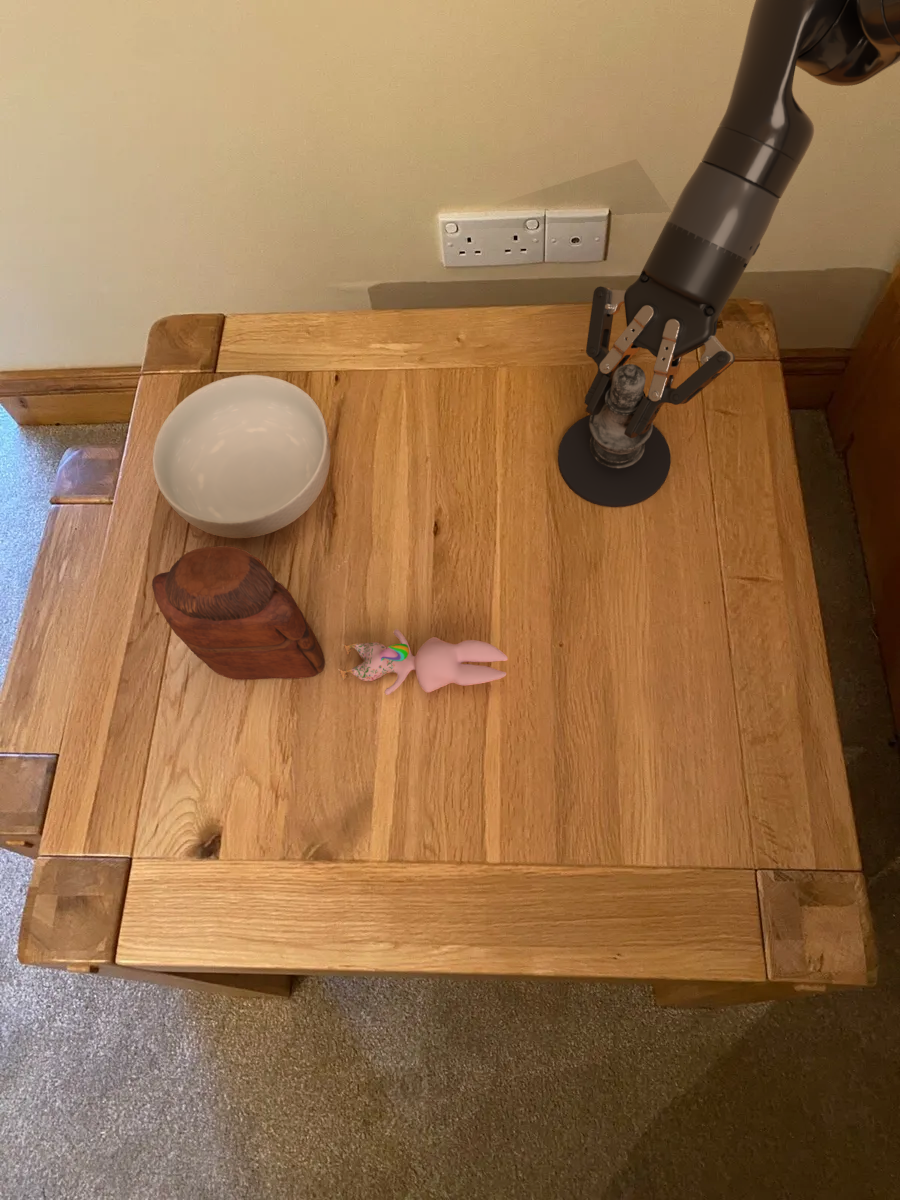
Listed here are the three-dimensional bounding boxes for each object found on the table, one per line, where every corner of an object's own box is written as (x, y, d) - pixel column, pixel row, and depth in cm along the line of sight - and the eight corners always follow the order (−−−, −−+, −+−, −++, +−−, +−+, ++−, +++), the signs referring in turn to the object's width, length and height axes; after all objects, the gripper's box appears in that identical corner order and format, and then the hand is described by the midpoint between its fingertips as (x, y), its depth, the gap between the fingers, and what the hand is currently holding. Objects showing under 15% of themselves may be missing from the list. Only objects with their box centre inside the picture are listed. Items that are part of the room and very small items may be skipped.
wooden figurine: (332, 620, 83) (288, 526, 66) (328, 685, 80) (280, 604, 64) (209, 621, 84) (134, 529, 67) (200, 686, 81) (120, 606, 65)
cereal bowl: (308, 574, 85) (291, 539, 78) (151, 540, 88) (122, 503, 81) (361, 431, 91) (350, 387, 85) (213, 403, 94) (191, 359, 88)
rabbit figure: (345, 701, 81) (507, 706, 77) (322, 679, 76) (494, 683, 72) (356, 637, 83) (513, 640, 80) (334, 612, 78) (501, 613, 74)
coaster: (640, 400, 91) (641, 396, 90) (689, 485, 86) (690, 481, 86) (540, 435, 90) (541, 431, 89) (585, 522, 85) (585, 519, 85)
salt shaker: (575, 436, 87) (583, 355, 76) (626, 410, 87) (642, 327, 77) (607, 480, 84) (620, 404, 73) (659, 454, 85) (680, 374, 74)
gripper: (622, 194, 71) (530, 388, 79) (779, 270, 67) (665, 468, 75) (650, 207, 78) (562, 386, 85) (795, 278, 73) (689, 459, 81)
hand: (611, 423), depth 80 cm, fingers closed on salt shaker, 3 cm apart
